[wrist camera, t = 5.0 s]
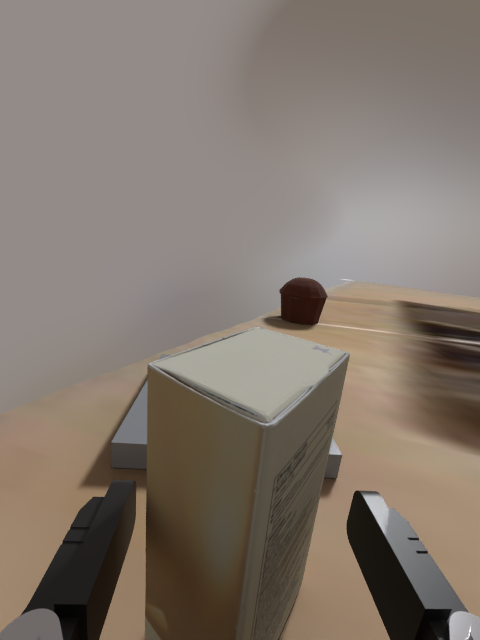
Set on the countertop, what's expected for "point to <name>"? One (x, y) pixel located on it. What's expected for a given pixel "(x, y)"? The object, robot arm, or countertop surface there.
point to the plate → (133, 440)
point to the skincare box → (235, 481)
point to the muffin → (302, 301)
